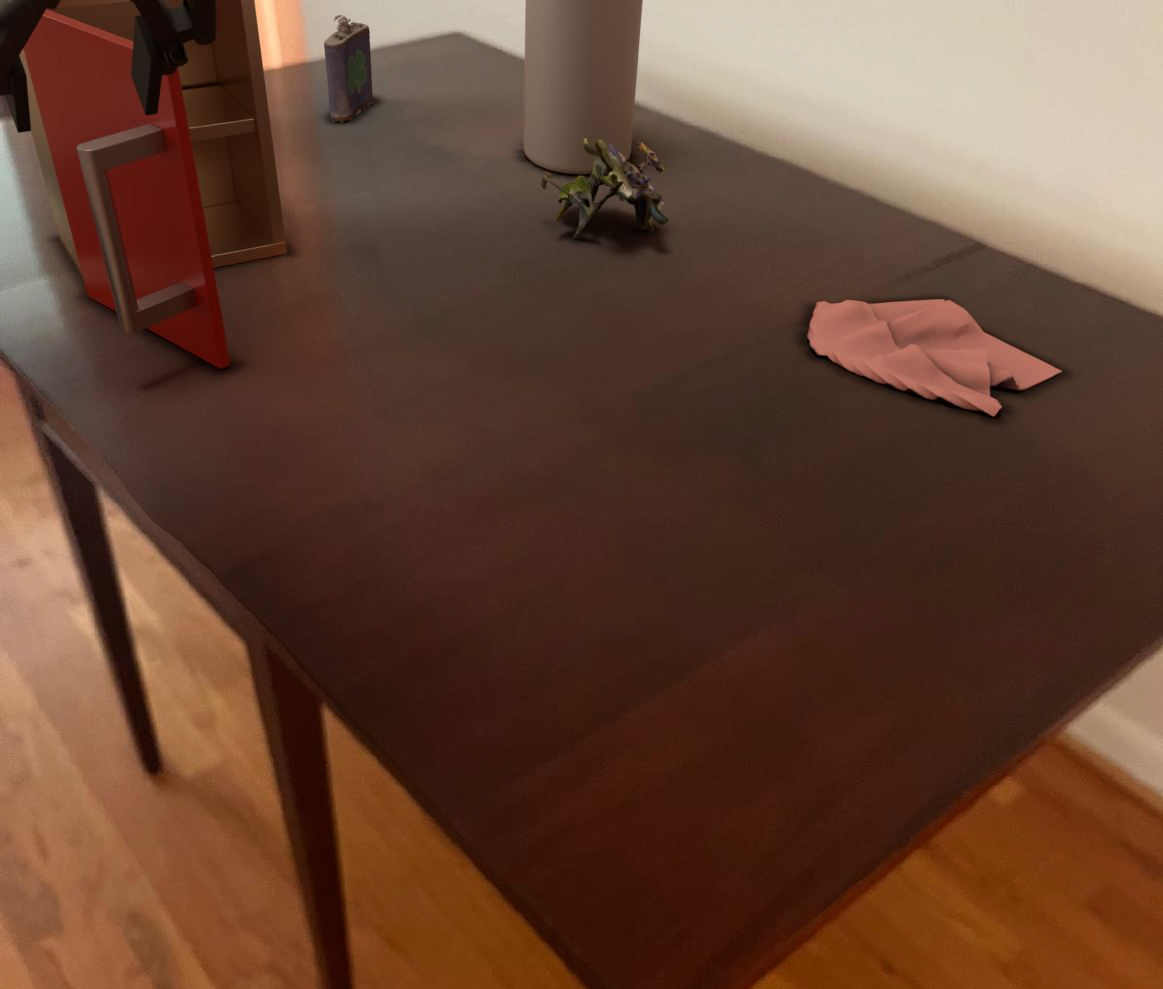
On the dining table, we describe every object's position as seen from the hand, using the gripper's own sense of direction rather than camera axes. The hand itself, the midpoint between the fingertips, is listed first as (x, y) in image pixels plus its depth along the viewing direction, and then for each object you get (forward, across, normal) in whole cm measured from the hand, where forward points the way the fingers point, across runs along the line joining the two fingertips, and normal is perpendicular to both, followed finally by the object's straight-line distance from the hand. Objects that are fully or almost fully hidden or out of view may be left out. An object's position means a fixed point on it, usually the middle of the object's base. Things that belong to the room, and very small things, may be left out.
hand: (82, 102), depth 70 cm
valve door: (+27, +1, -7) cm, 28 cm away
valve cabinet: (+39, +10, +4) cm, 40 cm away
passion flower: (+28, +50, -6) cm, 58 cm away
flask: (+59, +40, +24) cm, 75 cm away
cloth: (+4, +63, -30) cm, 70 cm away
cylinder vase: (+42, +58, +7) cm, 72 cm away
